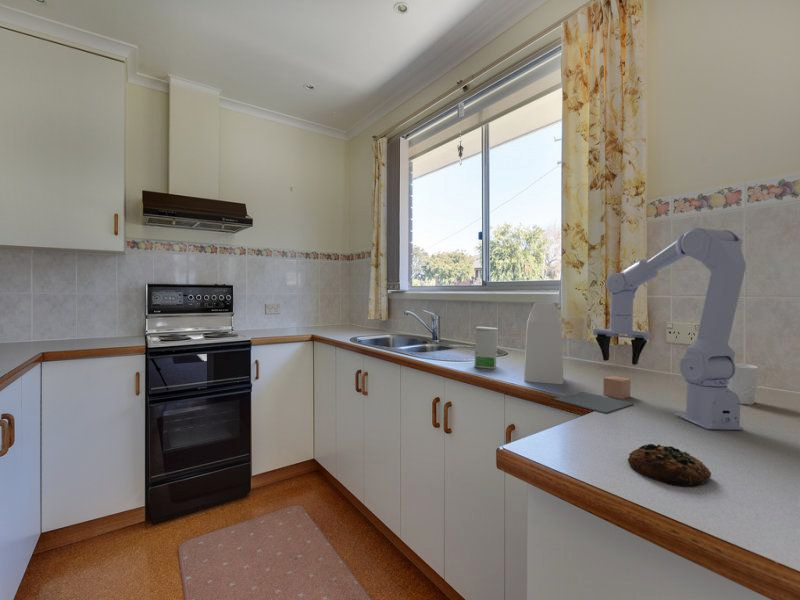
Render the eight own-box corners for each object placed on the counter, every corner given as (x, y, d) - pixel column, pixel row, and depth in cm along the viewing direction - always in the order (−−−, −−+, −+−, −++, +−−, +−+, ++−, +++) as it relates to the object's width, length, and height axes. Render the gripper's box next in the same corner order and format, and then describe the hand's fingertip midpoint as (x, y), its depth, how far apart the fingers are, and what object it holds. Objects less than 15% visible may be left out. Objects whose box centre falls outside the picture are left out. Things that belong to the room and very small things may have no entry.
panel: (633, 404, 100) (633, 403, 100) (605, 413, 92) (605, 412, 92) (582, 392, 112) (582, 391, 111) (554, 399, 104) (554, 398, 104)
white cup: (746, 398, 108) (747, 363, 107) (764, 406, 100) (765, 368, 100) (713, 396, 110) (714, 361, 110) (728, 403, 102) (729, 366, 102)
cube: (630, 396, 109) (630, 379, 108) (621, 399, 106) (621, 381, 106) (612, 392, 113) (612, 375, 113) (603, 395, 110) (603, 377, 110)
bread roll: (646, 484, 58) (646, 450, 58) (616, 462, 69) (617, 434, 69) (728, 495, 56) (728, 459, 56) (684, 470, 67) (684, 441, 67)
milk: (524, 381, 126) (525, 302, 125) (523, 374, 137) (525, 302, 136) (563, 384, 122) (565, 303, 122) (559, 376, 133) (561, 302, 133)
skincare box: (474, 367, 148) (474, 327, 147) (475, 364, 154) (476, 326, 154) (496, 369, 145) (497, 328, 145) (497, 366, 151) (497, 327, 151)
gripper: (654, 316, 107) (653, 364, 107) (600, 313, 118) (599, 357, 118) (645, 317, 102) (644, 367, 102) (590, 314, 113) (589, 359, 113)
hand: (620, 362), depth 110 cm, fingers open, 7 cm apart
